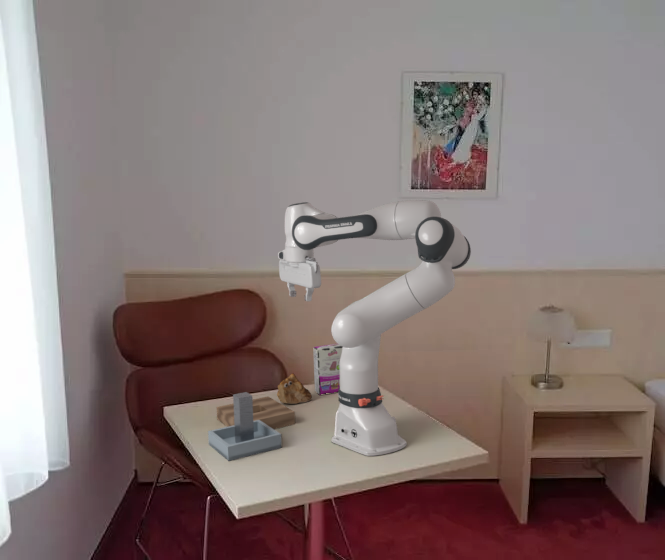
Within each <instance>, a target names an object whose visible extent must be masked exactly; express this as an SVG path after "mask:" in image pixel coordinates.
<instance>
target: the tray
mask: <svg viewBox="0 0 665 560" xmlns="http://www.w3.org/2000/svg"><path fill="white" fill-rule="evenodd" d="M253 425H254V439H252V440H248V441H244V442H240V443H236V442H235V425H233V426H229V427H227V426H224V427H219V428H215V429H211V430H208V431H207V435H208V437H207V438H208V439H207V440H208V446H210V447H211V448H212V449H213V450H215V451H216V452H217V453H218V454H220V455H221V457H223V458H224V459H225V460H227V461H228V462H230V461H235V460H239V459H243V458H245V457H246V458H247V457H250V456H255V455H258V454H263V453H266V452H270V451H274V450H278V449H282V447H283V446H282V433H280V432H279V431H277V429H272V428H271V427H269V426H268V425H266V424H265V423H263V422H262V421H260V420H255V421H253Z"/></svg>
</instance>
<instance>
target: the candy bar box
mask: <svg viewBox="0 0 665 560" xmlns="http://www.w3.org/2000/svg"><path fill="white" fill-rule="evenodd" d="M312 349H313V351H312V353H313V374H314V377H313V379H314V392H315V391H316V392H317V393H318V395H319V396H322V395H321V394H325V395H327V394H326V393H331V394H335V393H334V392H337V393H338V390H339V388H340V368H339V362H340V358H341V354H342V346H340V345H339V344H338V343H332V344H326V345H325V344H324V345H319V346H318V345H317V346H312ZM316 392H315V393H316ZM317 393H316V394H317Z"/></svg>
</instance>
